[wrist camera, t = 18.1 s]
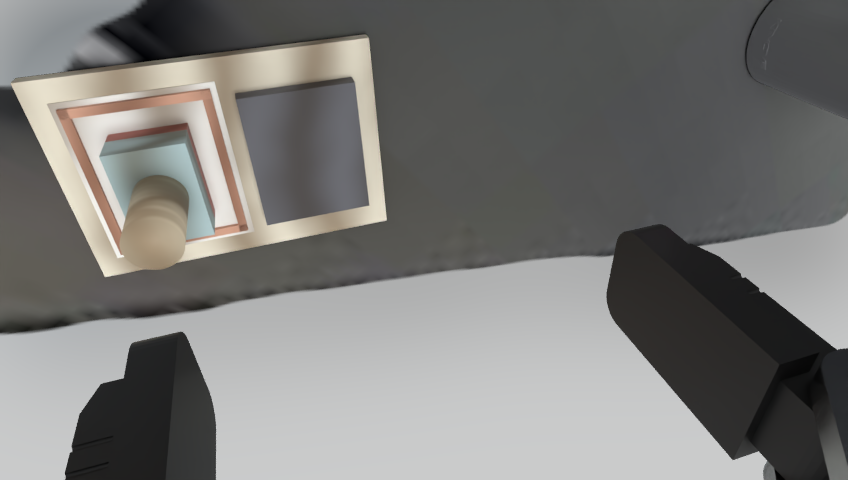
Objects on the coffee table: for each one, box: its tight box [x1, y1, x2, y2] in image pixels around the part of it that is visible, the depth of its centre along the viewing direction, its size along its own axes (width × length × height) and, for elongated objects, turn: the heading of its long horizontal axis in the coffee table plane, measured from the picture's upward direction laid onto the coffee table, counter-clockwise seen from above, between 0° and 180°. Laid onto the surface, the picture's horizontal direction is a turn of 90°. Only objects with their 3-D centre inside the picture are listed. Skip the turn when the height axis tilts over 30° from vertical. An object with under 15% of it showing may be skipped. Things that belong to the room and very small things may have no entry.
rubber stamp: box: [99, 123, 215, 270], centre depth 35 cm, size 5×7×9 cm
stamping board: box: [11, 34, 387, 277], centre depth 40 cm, size 22×15×2 cm
